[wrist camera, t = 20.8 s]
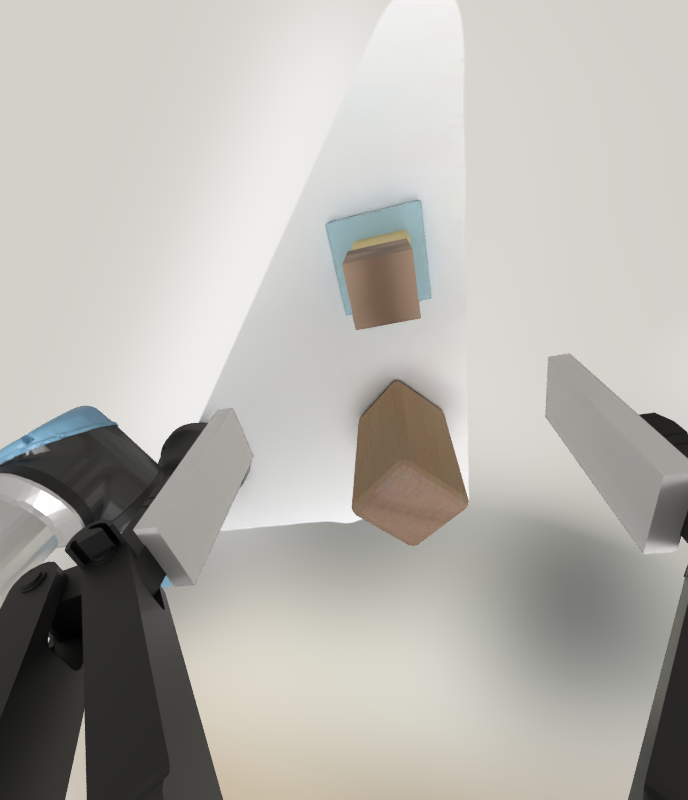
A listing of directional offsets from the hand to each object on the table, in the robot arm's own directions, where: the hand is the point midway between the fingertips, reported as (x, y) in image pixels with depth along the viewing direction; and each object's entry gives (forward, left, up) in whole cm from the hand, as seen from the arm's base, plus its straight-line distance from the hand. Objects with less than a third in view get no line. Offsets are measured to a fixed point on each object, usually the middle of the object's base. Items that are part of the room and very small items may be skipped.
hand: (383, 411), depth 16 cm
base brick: (0, 0, -37) cm, 37 cm away
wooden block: (-1, -24, -37) cm, 44 cm away
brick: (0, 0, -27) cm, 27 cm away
